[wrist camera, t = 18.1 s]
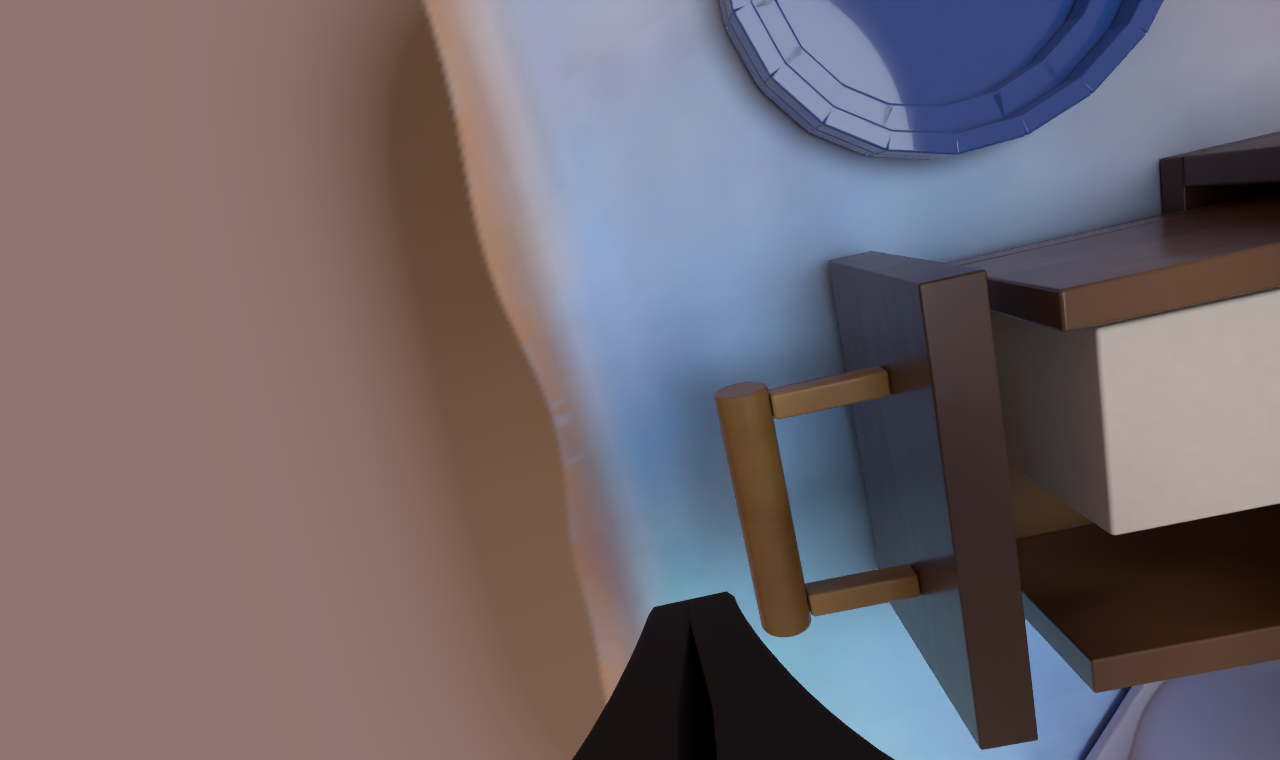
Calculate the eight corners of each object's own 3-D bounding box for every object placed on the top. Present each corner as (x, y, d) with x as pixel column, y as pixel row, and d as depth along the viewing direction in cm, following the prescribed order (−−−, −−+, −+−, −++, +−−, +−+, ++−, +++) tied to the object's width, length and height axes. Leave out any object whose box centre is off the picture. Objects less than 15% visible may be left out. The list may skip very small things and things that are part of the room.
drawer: (755, 615, 21) (800, 783, 15) (687, 292, 18) (705, 331, 12) (1337, 502, 20) (1648, 632, 14) (1339, 145, 17) (1714, 108, 11)
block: (1165, 261, 17) (1338, 277, 13) (1174, 427, 18) (1337, 494, 14) (986, 300, 17) (1096, 329, 13) (1004, 462, 18) (1112, 537, 14)
